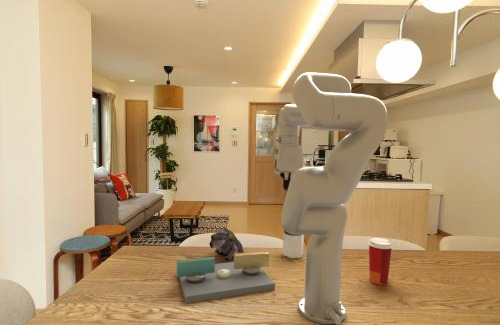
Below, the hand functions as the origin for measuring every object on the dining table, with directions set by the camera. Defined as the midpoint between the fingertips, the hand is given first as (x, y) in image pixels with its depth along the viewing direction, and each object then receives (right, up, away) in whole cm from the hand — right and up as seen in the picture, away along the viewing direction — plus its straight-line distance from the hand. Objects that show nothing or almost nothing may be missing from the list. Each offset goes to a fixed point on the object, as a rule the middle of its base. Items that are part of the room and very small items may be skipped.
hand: (287, 189), depth 110 cm
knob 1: (-32, -27, -16) cm, 45 cm away
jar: (+4, -29, +13) cm, 32 cm away
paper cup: (+30, -31, -10) cm, 44 cm away
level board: (-23, -29, -12) cm, 39 cm away
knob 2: (-14, -27, -9) cm, 32 cm away
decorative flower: (-23, -28, +10) cm, 38 cm away
